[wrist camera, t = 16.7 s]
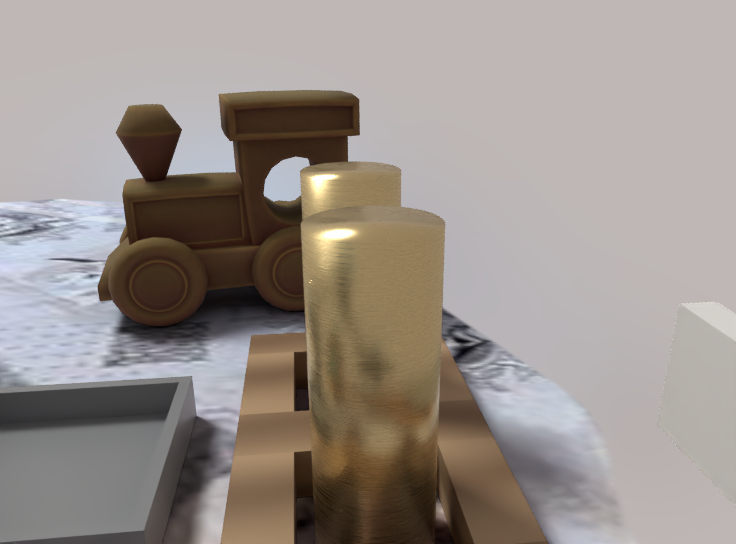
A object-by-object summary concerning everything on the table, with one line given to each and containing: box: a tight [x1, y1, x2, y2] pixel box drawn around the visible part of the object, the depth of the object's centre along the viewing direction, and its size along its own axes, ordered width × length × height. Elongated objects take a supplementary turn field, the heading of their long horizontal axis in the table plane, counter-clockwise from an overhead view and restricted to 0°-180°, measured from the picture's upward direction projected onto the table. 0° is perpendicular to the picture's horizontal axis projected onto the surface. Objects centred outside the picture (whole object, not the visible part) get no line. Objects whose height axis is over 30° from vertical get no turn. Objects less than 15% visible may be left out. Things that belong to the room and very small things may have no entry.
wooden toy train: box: [98, 90, 360, 326], centre depth 50 cm, size 20×11×17 cm, turn 106°
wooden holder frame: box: [221, 332, 548, 544], centre depth 31 cm, size 22×12×2 cm, turn 6°
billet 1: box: [300, 162, 401, 221], centre depth 34 cm, size 5×5×14 cm
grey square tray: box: [0, 376, 196, 544], centre depth 29 cm, size 12×12×2 cm
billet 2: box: [301, 206, 445, 544], centre depth 24 cm, size 5×5×14 cm
